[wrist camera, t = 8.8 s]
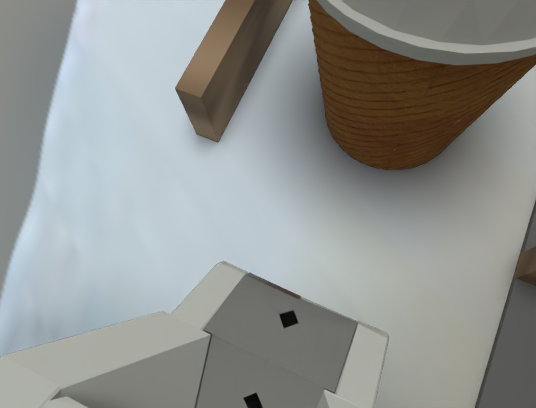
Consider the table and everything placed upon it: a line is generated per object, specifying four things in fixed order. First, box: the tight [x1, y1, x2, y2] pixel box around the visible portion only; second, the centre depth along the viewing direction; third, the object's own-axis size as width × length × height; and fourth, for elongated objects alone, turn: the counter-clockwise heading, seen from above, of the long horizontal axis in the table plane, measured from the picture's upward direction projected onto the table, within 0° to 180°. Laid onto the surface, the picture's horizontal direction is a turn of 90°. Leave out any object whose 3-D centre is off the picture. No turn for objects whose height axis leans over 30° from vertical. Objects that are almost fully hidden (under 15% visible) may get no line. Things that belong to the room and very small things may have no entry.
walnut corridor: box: [175, 0, 536, 286], centre depth 18 cm, size 25×27×4 cm
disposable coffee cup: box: [308, 0, 536, 169], centre depth 17 cm, size 10×10×12 cm
